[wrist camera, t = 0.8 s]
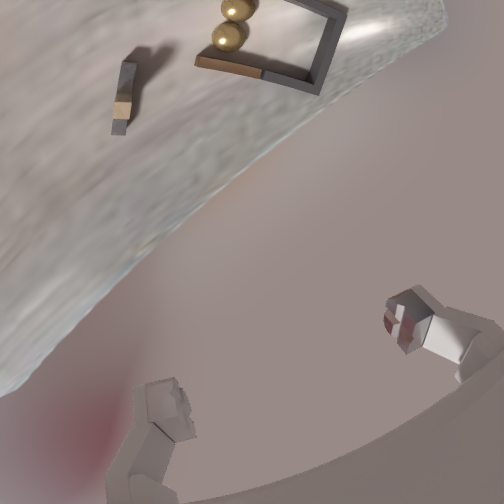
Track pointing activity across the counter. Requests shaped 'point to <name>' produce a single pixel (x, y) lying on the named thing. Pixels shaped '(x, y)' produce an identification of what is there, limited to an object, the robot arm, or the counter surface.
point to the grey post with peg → (123, 98)
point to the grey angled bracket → (323, 51)
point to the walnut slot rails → (227, 66)
